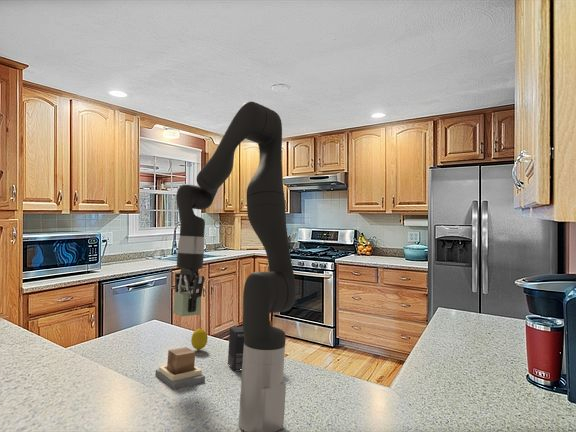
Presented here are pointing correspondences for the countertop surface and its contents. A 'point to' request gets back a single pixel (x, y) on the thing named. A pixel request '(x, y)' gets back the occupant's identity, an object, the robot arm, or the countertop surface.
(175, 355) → the walnut block
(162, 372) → the base board
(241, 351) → the small box
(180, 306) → the sage block
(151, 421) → the countertop surface
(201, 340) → the lemon
